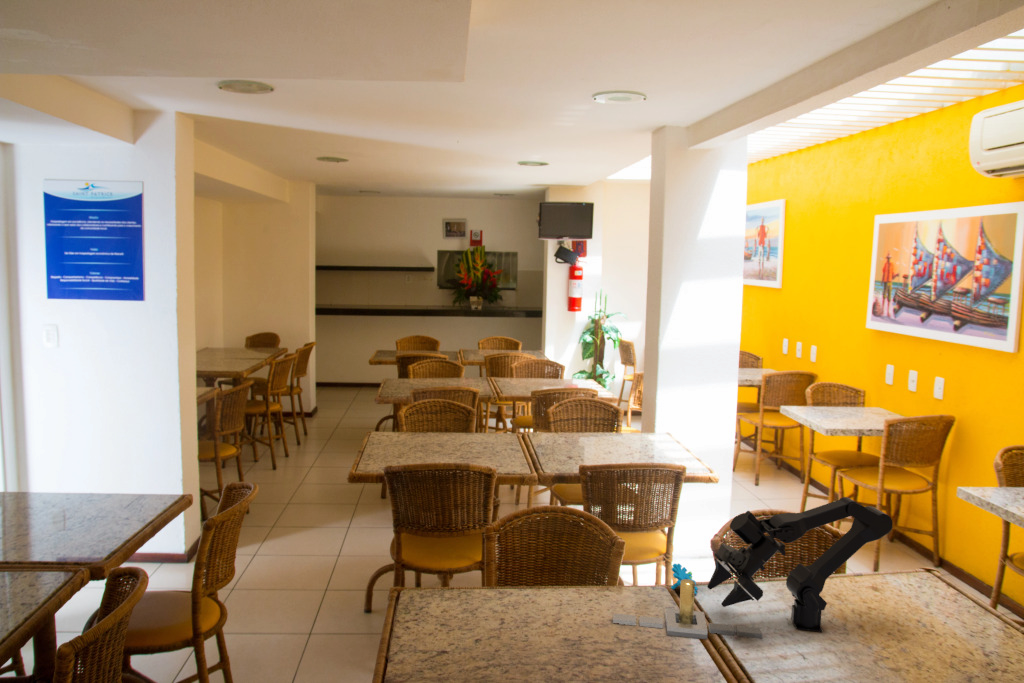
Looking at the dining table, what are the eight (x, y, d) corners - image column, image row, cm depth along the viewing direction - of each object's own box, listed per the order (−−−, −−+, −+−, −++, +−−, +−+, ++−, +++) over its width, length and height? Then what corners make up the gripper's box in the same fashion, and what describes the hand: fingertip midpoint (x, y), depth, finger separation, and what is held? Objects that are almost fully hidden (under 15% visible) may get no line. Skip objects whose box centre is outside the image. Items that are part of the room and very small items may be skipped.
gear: (692, 596, 199) (670, 565, 203) (676, 607, 201) (655, 576, 205) (704, 587, 208) (683, 558, 212) (689, 598, 210) (669, 568, 214)
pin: (694, 626, 185) (696, 581, 184) (691, 632, 182) (693, 586, 181) (680, 623, 187) (682, 578, 186) (677, 629, 184) (679, 583, 183)
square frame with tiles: (757, 625, 186) (758, 617, 186) (764, 645, 176) (765, 636, 176) (613, 611, 193) (613, 603, 192) (612, 629, 183) (612, 620, 183)
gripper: (722, 521, 192) (682, 561, 192) (753, 550, 173) (708, 595, 174) (748, 546, 194) (709, 586, 194) (781, 578, 175) (738, 622, 176)
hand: (715, 596), depth 184 cm, fingers open, 9 cm apart
